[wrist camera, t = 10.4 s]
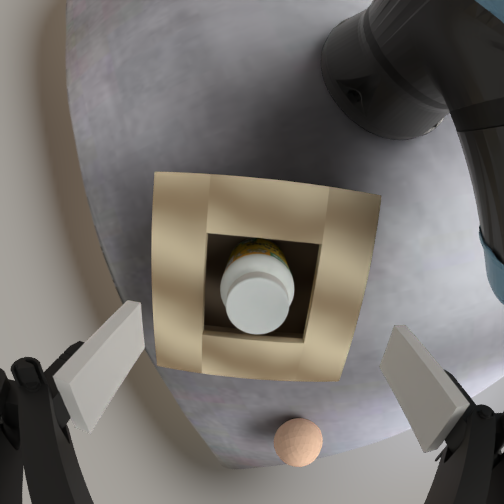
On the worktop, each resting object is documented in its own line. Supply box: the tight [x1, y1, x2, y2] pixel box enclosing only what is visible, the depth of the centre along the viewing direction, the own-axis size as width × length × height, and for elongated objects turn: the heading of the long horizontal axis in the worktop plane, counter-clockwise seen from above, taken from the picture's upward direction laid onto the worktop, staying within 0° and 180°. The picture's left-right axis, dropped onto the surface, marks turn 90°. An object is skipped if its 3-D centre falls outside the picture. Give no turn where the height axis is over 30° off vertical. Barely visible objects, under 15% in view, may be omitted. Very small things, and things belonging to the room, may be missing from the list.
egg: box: [274, 418, 323, 467], centre depth 30 cm, size 7×7×8 cm
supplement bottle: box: [220, 237, 294, 334], centre depth 22 cm, size 5×5×10 cm
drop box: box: [151, 172, 381, 382], centre depth 24 cm, size 16×16×9 cm
